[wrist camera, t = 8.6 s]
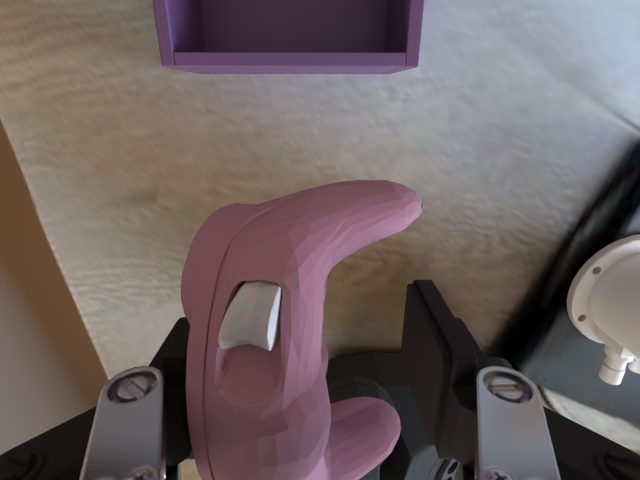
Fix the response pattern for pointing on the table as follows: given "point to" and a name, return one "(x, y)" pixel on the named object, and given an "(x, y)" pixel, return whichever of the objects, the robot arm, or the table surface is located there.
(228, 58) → the box
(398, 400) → the rotary telephone
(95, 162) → the table surface
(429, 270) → the table surface
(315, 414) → the video game controller
